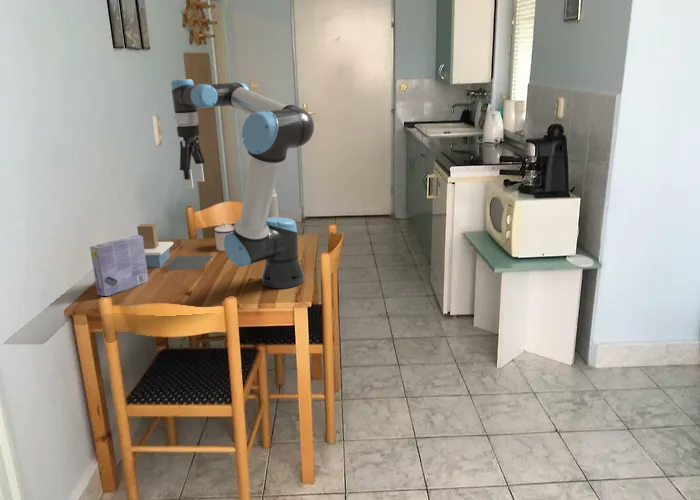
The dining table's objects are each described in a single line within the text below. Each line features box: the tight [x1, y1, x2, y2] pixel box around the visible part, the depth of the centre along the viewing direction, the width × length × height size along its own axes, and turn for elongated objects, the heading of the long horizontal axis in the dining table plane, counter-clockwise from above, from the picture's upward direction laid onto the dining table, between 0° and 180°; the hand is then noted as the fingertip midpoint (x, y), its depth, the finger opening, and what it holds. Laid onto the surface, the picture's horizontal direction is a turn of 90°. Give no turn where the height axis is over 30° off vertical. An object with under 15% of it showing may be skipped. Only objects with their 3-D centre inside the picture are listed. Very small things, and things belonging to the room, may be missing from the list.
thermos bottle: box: [268, 188, 279, 218], centre depth 242 cm, size 8×8×28 cm
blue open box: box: [145, 248, 171, 269], centre depth 227 cm, size 11×11×6 cm
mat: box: [163, 255, 214, 271], centre depth 227 cm, size 16×15×1 cm
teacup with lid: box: [213, 221, 234, 252], centre depth 243 cm, size 12×9×12 cm
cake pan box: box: [89, 234, 149, 297], centre depth 201 cm, size 19×5×18 cm, turn 145°
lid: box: [136, 223, 174, 255], centre depth 224 cm, size 14×14×10 cm
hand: (195, 184), depth 207 cm, fingers open, 13 cm apart
